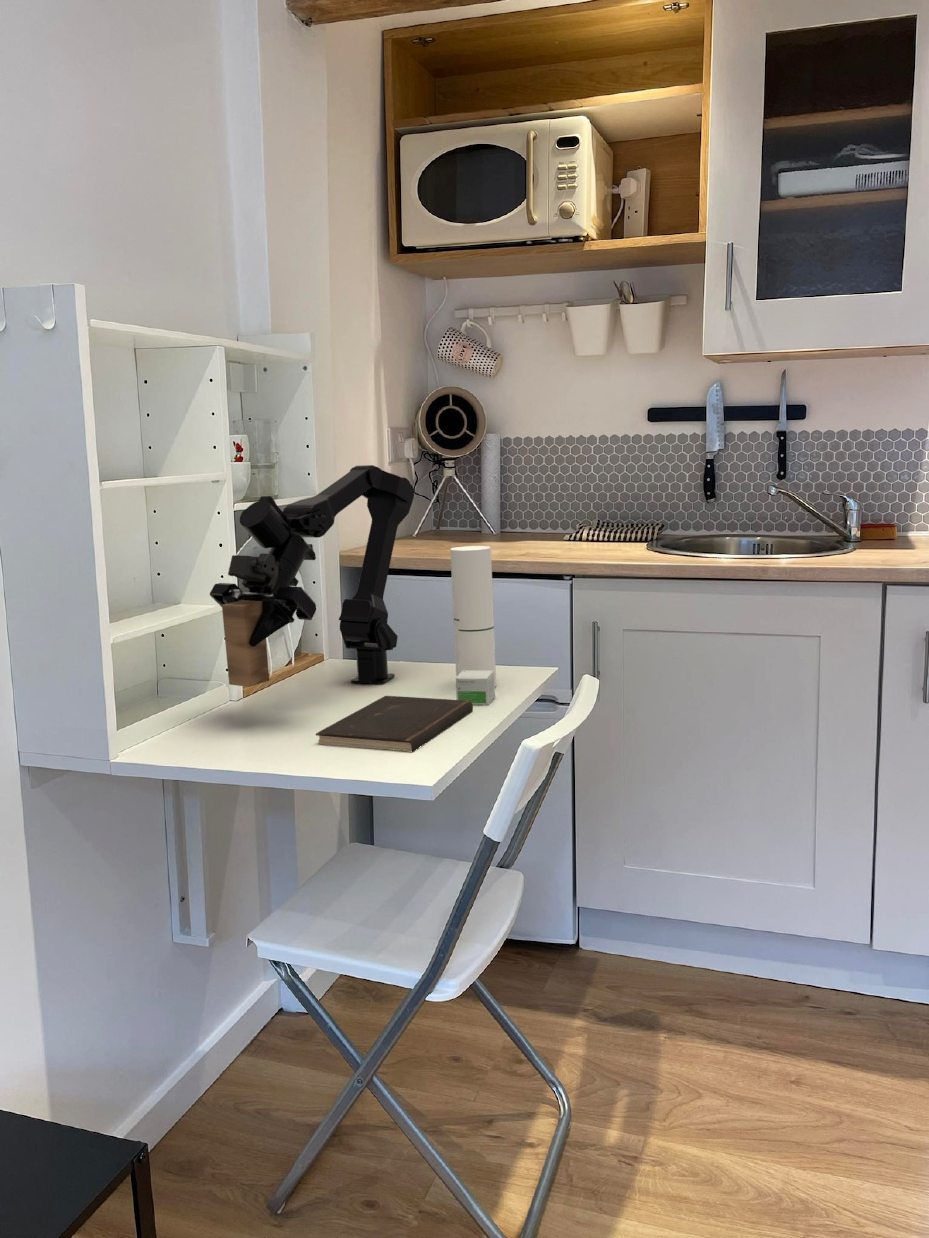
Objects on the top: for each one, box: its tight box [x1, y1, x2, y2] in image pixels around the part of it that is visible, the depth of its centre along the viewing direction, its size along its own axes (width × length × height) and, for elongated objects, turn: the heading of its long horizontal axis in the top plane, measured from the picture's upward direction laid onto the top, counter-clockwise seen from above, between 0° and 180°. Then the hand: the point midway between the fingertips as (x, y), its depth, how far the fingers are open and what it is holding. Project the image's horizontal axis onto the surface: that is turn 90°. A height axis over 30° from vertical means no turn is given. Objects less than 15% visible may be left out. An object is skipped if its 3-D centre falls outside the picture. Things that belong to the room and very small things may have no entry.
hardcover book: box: [315, 695, 474, 753], centre depth 161 cm, size 16×23×2 cm
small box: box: [455, 670, 496, 706], centre depth 174 cm, size 6×6×5 cm
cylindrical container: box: [449, 545, 497, 687], centre depth 183 cm, size 7×7×25 cm
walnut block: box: [221, 600, 270, 688], centre depth 164 cm, size 4×4×13 cm
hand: (239, 644), depth 163 cm, fingers closed on walnut block, 4 cm apart
